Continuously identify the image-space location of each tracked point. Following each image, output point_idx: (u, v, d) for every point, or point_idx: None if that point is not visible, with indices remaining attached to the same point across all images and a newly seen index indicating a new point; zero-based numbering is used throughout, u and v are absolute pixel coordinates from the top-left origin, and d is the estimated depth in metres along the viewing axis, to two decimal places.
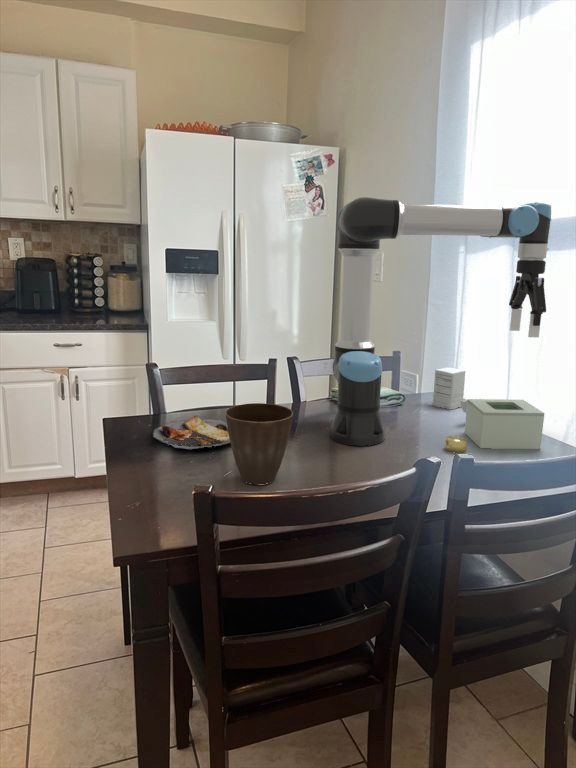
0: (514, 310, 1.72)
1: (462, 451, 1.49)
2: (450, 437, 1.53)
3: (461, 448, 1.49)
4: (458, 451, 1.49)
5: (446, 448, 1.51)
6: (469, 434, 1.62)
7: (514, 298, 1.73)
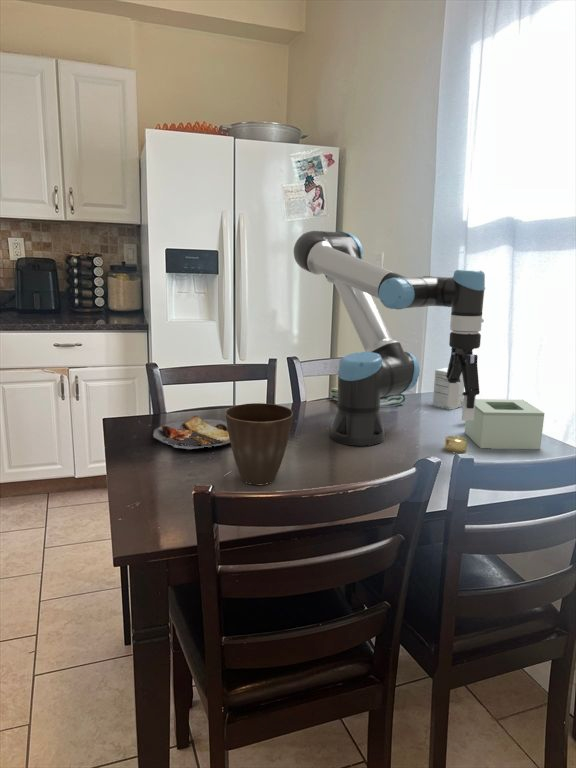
0: (451, 384, 1.54)
1: (462, 451, 1.49)
2: (450, 437, 1.53)
3: (461, 448, 1.49)
4: (458, 451, 1.49)
5: (446, 448, 1.51)
6: (469, 434, 1.62)
7: (451, 371, 1.55)
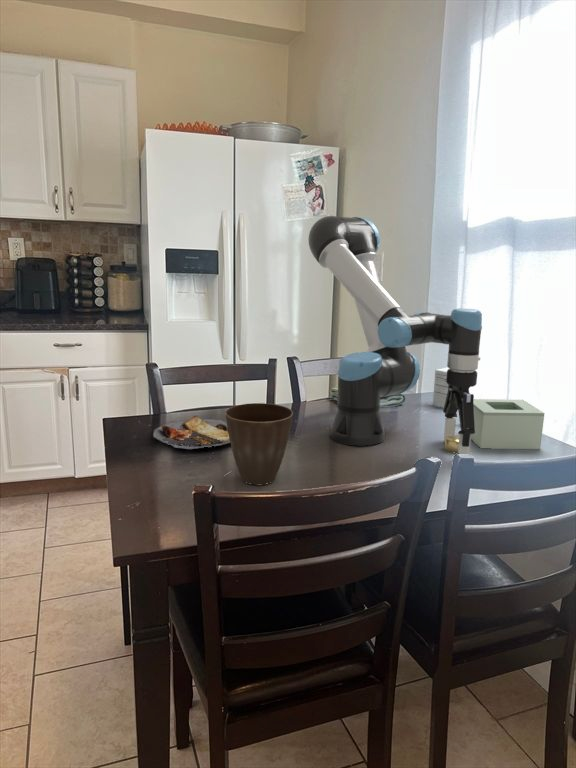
0: (448, 420, 1.56)
1: None
2: (450, 437, 1.53)
3: None
4: None
5: (446, 448, 1.51)
6: None
7: (448, 406, 1.57)
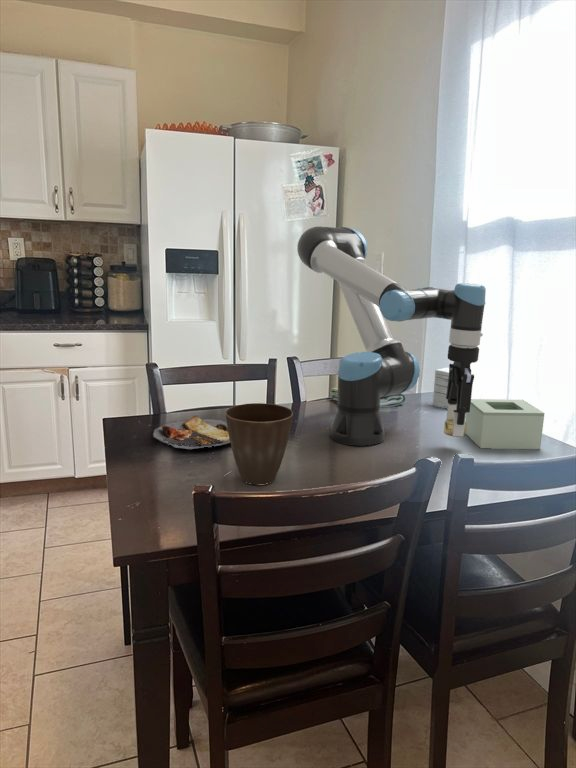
0: (450, 406, 1.52)
1: None
2: (450, 420, 1.52)
3: None
4: None
5: (445, 431, 1.50)
6: (469, 434, 1.62)
7: None
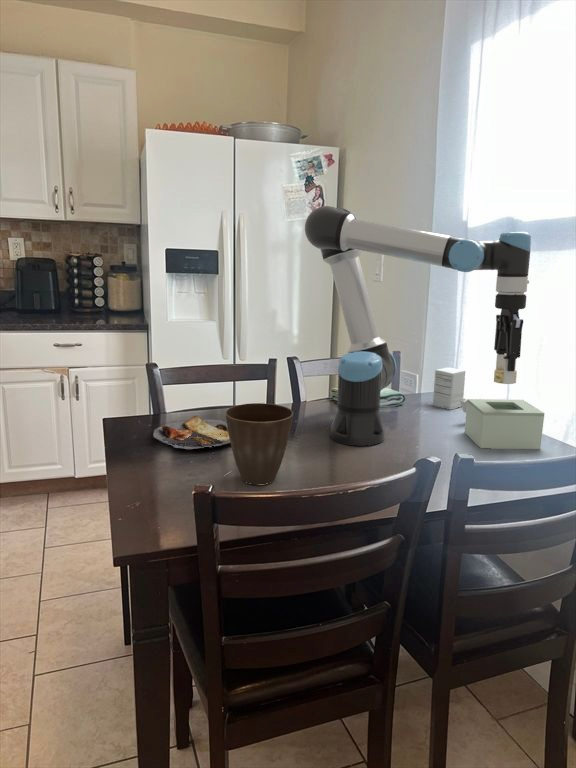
0: (499, 356, 1.56)
1: None
2: (499, 369, 1.55)
3: None
4: None
5: (496, 379, 1.53)
6: (469, 434, 1.62)
7: None
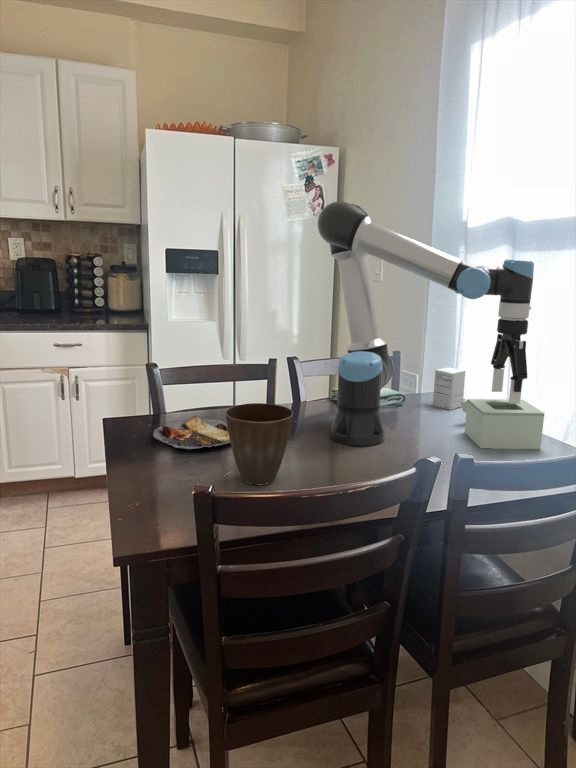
0: (496, 370, 1.61)
1: None
2: None
3: None
4: None
5: None
6: (469, 434, 1.62)
7: (496, 357, 1.62)
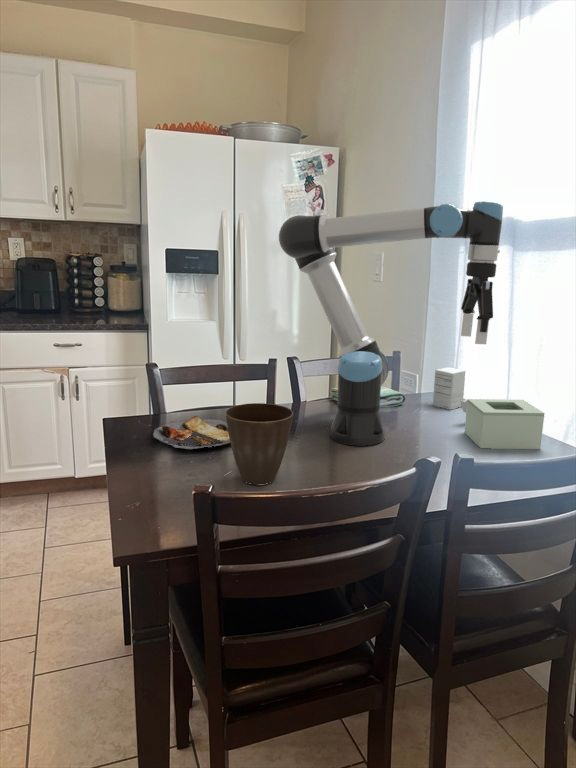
0: (465, 315, 1.64)
1: None
2: None
3: None
4: None
5: None
6: (469, 434, 1.62)
7: (466, 302, 1.64)
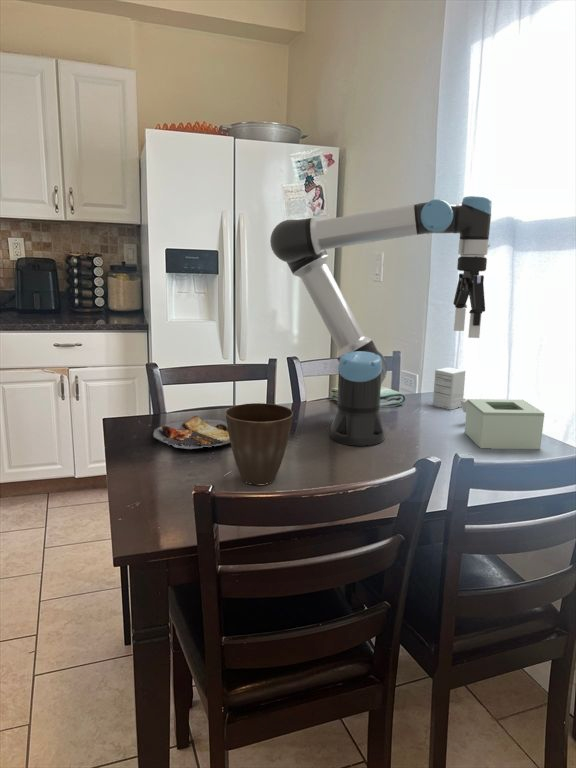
0: (458, 309, 1.65)
1: None
2: None
3: None
4: None
5: None
6: (469, 434, 1.62)
7: (458, 297, 1.66)
